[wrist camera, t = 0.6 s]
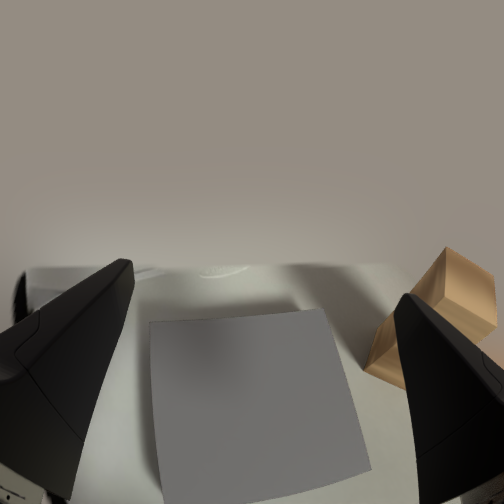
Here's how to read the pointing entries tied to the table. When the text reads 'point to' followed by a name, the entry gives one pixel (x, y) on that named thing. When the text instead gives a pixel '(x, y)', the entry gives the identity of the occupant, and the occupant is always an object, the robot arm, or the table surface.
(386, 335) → the oak block
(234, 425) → the plinth
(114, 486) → the table surface
